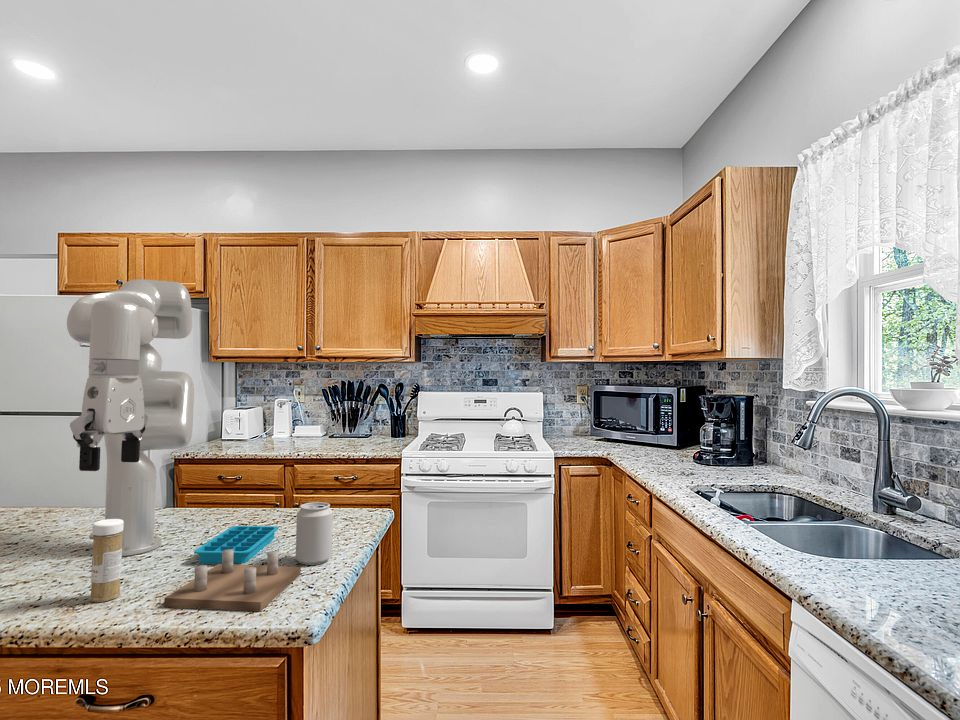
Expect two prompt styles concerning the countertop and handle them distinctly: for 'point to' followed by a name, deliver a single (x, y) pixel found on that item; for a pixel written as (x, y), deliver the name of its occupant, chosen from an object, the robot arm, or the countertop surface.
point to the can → (314, 533)
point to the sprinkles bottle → (106, 559)
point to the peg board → (234, 585)
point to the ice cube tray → (236, 544)
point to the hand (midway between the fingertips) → (110, 466)
